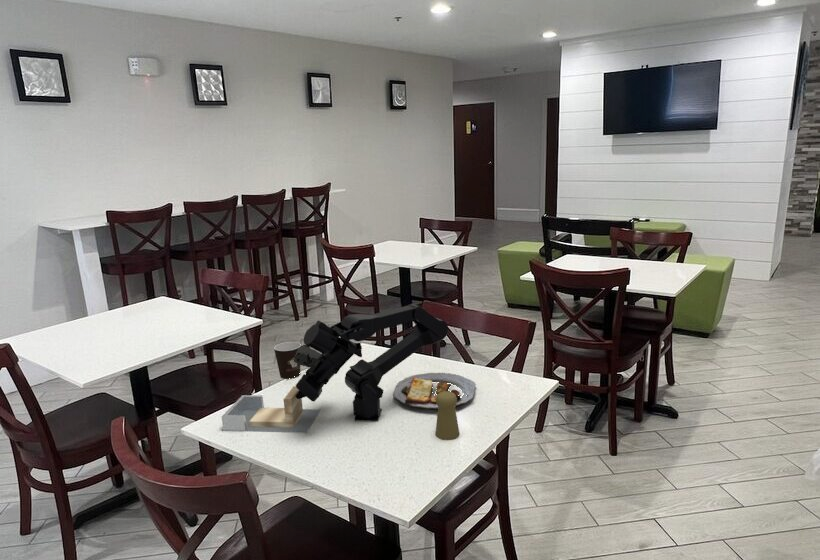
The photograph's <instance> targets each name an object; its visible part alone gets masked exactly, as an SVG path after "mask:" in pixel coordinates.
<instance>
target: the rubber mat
mask: <svg viewBox="0 0 820 560" xmlns="http://www.w3.org/2000/svg"><path fill="white" fill-rule="evenodd" d="M320 411H321V409H320V408H319V409H309V408H305V409H304V408H303V414H302V416H301V417H300V419H299V420H298V422H297V423H296V425H295V426H294V427H250V424H249V421H250V420H251V419H252V418H253V416H254V415H255V414H256V413H257V412H258V410H245V411H244V412H243V414H242V415H245V418H246V427H247V430H246V431H245V432H251V433H252V432H253V433H254V432H256V433H257V432H258V433H259V432H261V433H303V434H304V433H305V434H307V433H308V432H309V429H310V428H311V426H312V425H313V423H314V422H315V420H316V418H317V417H318V415H319V414H320ZM221 431H222V432H224V431H223V429H222V430H221Z"/></svg>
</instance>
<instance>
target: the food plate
mask: <svg viewBox="0 0 820 560" xmlns="http://www.w3.org/2000/svg"><path fill="white" fill-rule="evenodd" d="M432 382H439V383H436V388H437V389H435V390H437V391H436V394H437V395H438V394H439V393H440V392H444V391H448V389H449V390H450V388H451V387H452V386H453V385H456V386H457V387H459V388H460V389H461V390H462V394H463V393H464V395H463V396H462V398H460V395H459V394H461V393H460V392H461V390H458V389H455V388H453V389H451V392H452V393H454V394H455V395H456V397H457V403H456V405H455V407H458V406H461V405H465V404H467V403H468V402H470V401H471V400H473V398H474V395H475V390H476V382H475V381H473V380H472V379H469V378H466V377H464V376H462V375H460V374H455V373H450V372H427V373H425V372H424V373H418V374H413V375H410V376H408V377H404V378H403V379H401V380H399V381H398V382H397V383H396V385H395V387H394V389H393V391H392V397H393V398H394V399H395V401H398V403H399V402H400V404H403V405H405V406H408V407H412V408H421V409H422V408H423V409H432V410H435V409H436V410H438V406H437V403H436V397H437V395H436V394H435V392H434V390H433V388H434V385H433V384H434V383H432ZM447 383H451V384H453V385H451V384H447ZM450 386H451V387H450ZM456 386H455V387H456ZM432 387H433V388H432ZM449 387H450V388H449ZM432 392H433V393H432ZM449 392H450V391H449ZM434 394H435V396H434ZM458 395H459V396H458ZM466 395H467V396H466Z"/></svg>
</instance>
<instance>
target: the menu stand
mask: <svg viewBox="0 0 820 560" xmlns="http://www.w3.org/2000/svg"><path fill="white" fill-rule="evenodd" d="M298 391H299V390H298V389H297V388H296V385H294V386H292V388H291V389H290V390H289V392H287V394H286V396H284V398H283V407H264V408H260V409H259V410H258V412H257V413H256V414H255V415H254V416H253V418H252V419H251V420H250V421H249V424H250V427H294V426H295V425H296V423H297V422H298V420H299V419H300V417H301V416H302V414H303V409H304V408H303V398H301V399H297V398H296V397H295V396H296V395H297V393H298Z"/></svg>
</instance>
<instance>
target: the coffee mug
mask: <svg viewBox="0 0 820 560" xmlns="http://www.w3.org/2000/svg"><path fill="white" fill-rule="evenodd" d="M301 346H306V347H308V348H311V347H309V346H307V345H305V344H303V345H302V344H301V342H298V341H286V342H281V343H278V344H276V345H275V346H274V347H273V350H274V355H275V359H276V364H277V368H278V372H279V377H280V378H281V379H283V380H292V378H293V379H296V378H299V377H300V376H301V366H302V365H300V364H298V363H295V362H294V356H295V355H296V353H297V350H298V349H299V348H300V347H301ZM299 373H300V374H299ZM299 375H300V376H299ZM294 376H295V377H294ZM289 378H290V379H289Z"/></svg>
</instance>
